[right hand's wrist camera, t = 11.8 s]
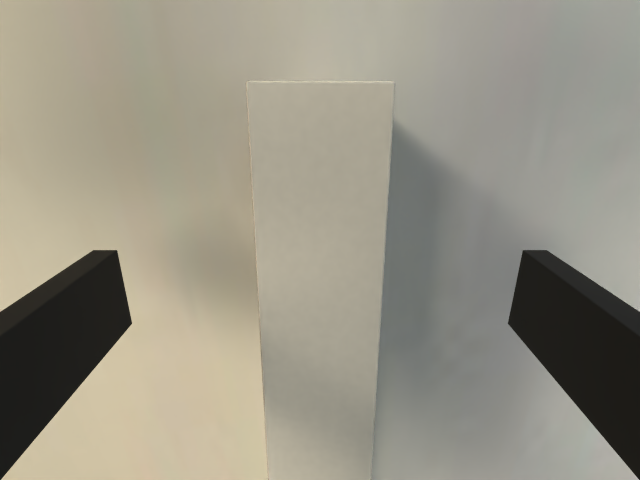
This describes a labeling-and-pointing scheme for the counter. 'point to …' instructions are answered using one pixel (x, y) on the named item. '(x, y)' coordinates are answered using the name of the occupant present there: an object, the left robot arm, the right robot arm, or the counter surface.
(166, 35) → the counter surface
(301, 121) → the beam
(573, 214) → the counter surface
